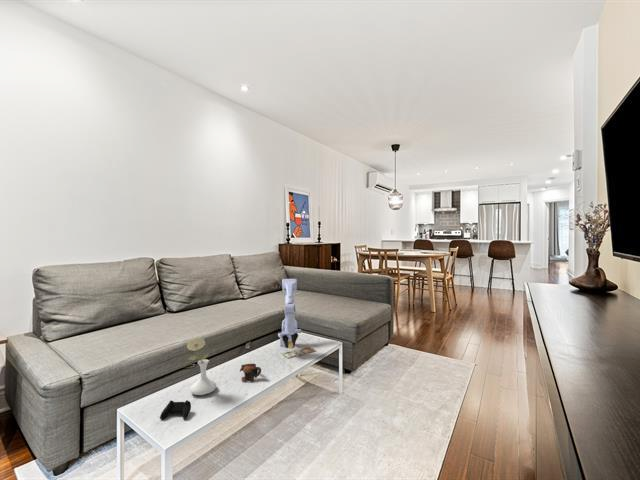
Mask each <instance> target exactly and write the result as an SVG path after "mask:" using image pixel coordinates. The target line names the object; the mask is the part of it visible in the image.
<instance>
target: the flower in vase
mask: <svg viewBox="0 0 640 480" xmlns="http://www.w3.org/2000/svg"><path fill="white" fill-rule="evenodd" d="M205 344H206V341H205V339H204V338H201V337H195V338H192V339H190V341H188V342H187V344H186V348H187V350H189V351H193V352H195V351H196V355H191V356H190V357H188V359H187V360H188V361H189V360H190V361H191V360H192V361H194V360H197V359H199V360H197V364H198V365H199V369H200V378H199V379H197V381H195V382H194V383H193V384H192V385H191V387H190V389H189V392H190V393H191V394H192V395H196V396H204V395H208V394H210V393H212V392H213V391H215V390H216V388H217V383H216V382H215V380H213V379H210V377H208V376H207V366H208V364H209V363H210V360H209V359H207V358H208V356H209V354H210V352H207V353H205V354H203V355H202V356H201V358H200V356H199V353H198V350H201V349H203V348H204V346H205Z"/></svg>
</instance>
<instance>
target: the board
mask: <svg viewBox="0 0 640 480" xmlns="http://www.w3.org/2000/svg"><path fill="white" fill-rule="evenodd" d="M293 348H294V349H293V350H290V351H289V350H288V351H286V352H282V353H280V355H281V356H283V357H284V358H285V359H287V360H288V359H292V358H296V357H300V356H304V355H308V354H312V353H315V352H317V350H316V349H315V348H313V347H311V346H307V347H302V348H300V347H297V346H296V345H295V346H294V347H293Z"/></svg>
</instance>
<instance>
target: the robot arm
mask: <svg viewBox="0 0 640 480" xmlns="http://www.w3.org/2000/svg"><path fill="white" fill-rule="evenodd" d="M297 287H298V280H297V278H282V280H281V288H282V292H283V293H284V294H285V298H284V306H283V307H284V319H283V320H282V321H281V332H278V333H277V337H278V338H279V347H280V348H285V349H289V348H288V342H289V341H291V342H292V343H293V347H292V348H294V346H296V343H297V342H296V341H297V339H298V337H299V334H301V333H302V329H301V328H299V329H298V321H297V319H296V318H295V315H296V309H297V308H296V307H297V306H296V302H295V296H294V293H296V292H297Z"/></svg>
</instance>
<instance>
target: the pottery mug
mask: <svg viewBox="0 0 640 480" xmlns="http://www.w3.org/2000/svg"><path fill="white" fill-rule="evenodd" d="M240 366H241V367H240V369H239V373H241V372H243V374H244V376H242V377H241V383H243V382H254V379H257V378H258V377H259V376H260V375H261V373H262V368H261V367H260V366H257V364H255V363H245V364H241V365H240Z"/></svg>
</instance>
